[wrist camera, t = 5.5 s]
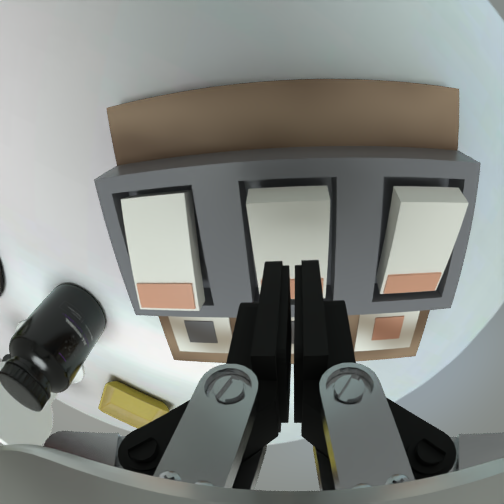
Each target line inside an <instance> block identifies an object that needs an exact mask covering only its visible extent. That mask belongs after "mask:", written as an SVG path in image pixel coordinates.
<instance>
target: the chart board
mask: <svg viewBox="0 0 504 504" xmlns="http://www.w3.org/2000/svg"><path fill="white" fill-rule="evenodd" d="M107 114H108V120H109V126H110V132H111V137H112V142H113V147H114V153H115V157H116V162H117V166H118V165H124V164H130V163H137V162H143V161H150V160H157V159H165V158H172V157H180V156H189V155H198V154H207V153H217V152H228V151H240V150H253V149H269V148H288V147H316V146H386V147H413V148H431V149H445V150H457V149H458V131H459V89H456V88H449V87H443V86H435V85H427V84H418V83H408V82H397V81H382V80H362V79H300V80H279V81H264V82H252V83H242V84H233V85H224V86H216V87H209V88H202V89H195V90H189V91H183V92H177V93H172V94H166V95H161V96H156V97H151V98H146V99H142V100H137V101H133V102H129V103H124V104H120V105H116V106H112V107H109V108H107ZM429 311H430V310H423V311H411V312H397V313H382V314H365V315H348V320H349V325H350V331H351V337H352V342H353V349H354V355H355V361H366V360H379V359H391V358H401V357H411V356H416V353H417V350H418V347H419V344H420V341H421V338H422V334H423V331H424V328H425V325H426V321H427V318H428V314H429ZM159 319H160V322H161V325H162V328H163V331H164V333H165V336H166V339H167V342H168V345H169V347H170V350H171V353H172V355H173V358H174V360H183V361H199V362H219V363H226V362H227V357H228V353H229V348H230V344H231V340H232V335H233V331H234V326H235V322H236V318H218V317H175V316H159ZM291 323H292V345H291V364H294V317H291Z"/></svg>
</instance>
